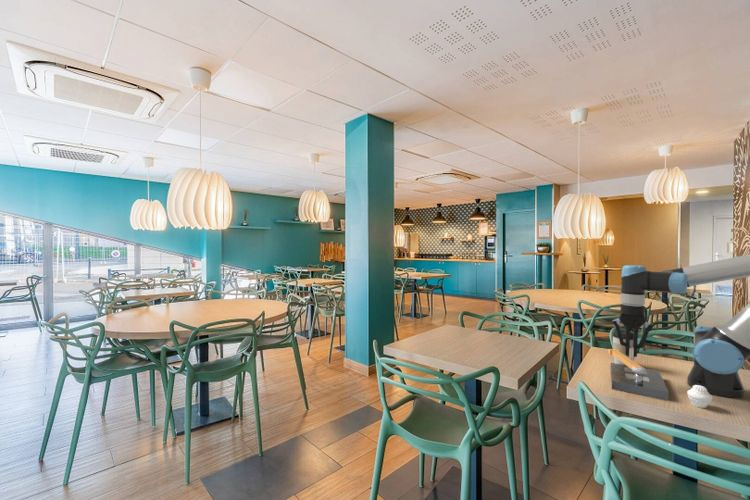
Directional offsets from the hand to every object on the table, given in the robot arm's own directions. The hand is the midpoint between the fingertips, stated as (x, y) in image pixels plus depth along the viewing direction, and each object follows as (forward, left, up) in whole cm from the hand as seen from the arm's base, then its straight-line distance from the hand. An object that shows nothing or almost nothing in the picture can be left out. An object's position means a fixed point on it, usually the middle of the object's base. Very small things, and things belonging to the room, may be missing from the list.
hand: (630, 364), depth 134 cm
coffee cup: (+1, -21, -7) cm, 22 cm away
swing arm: (+2, +2, +1) cm, 3 cm away
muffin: (-18, +13, -7) cm, 23 cm away
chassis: (-2, +2, -7) cm, 7 cm away
